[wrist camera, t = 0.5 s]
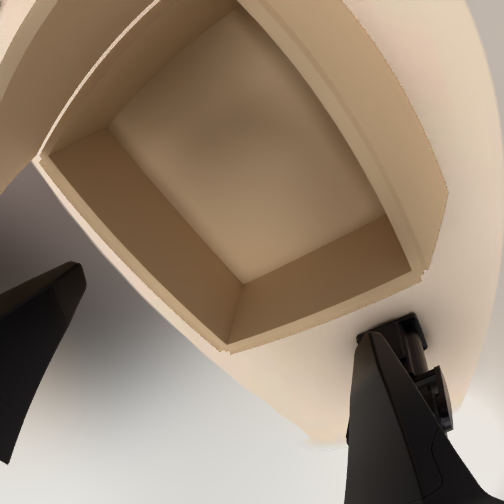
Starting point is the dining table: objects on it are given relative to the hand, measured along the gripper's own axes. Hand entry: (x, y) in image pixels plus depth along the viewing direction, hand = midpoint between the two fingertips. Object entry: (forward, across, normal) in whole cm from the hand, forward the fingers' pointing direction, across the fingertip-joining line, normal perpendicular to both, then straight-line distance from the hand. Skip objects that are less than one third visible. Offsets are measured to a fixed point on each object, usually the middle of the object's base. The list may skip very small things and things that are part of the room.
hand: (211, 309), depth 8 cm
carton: (+13, 0, +1) cm, 13 cm away
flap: (+2, +8, -6) cm, 10 cm away
